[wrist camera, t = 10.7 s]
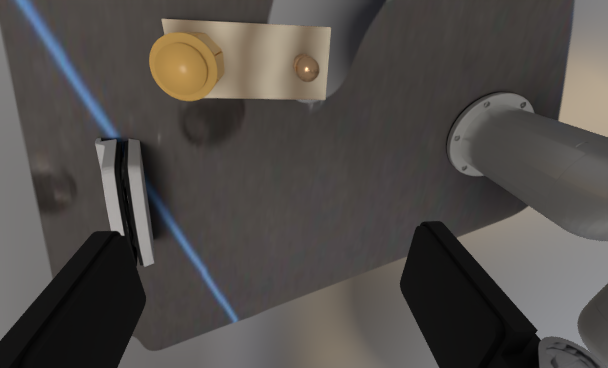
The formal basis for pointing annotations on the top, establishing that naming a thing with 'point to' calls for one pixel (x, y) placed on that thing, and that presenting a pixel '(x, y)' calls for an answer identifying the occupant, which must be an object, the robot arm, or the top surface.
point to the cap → (186, 64)
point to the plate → (263, 58)
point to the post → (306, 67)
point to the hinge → (131, 176)
